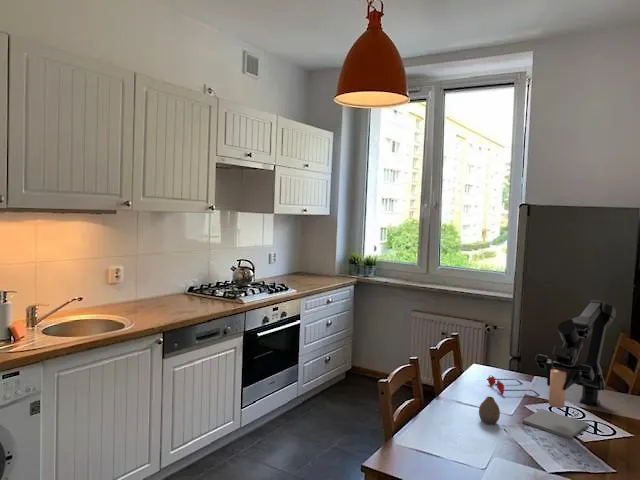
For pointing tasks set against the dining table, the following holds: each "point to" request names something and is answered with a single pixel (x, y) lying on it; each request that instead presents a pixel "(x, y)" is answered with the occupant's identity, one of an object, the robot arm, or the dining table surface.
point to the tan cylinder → (557, 388)
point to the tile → (555, 423)
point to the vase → (489, 411)
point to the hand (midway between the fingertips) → (555, 387)
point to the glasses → (500, 385)
